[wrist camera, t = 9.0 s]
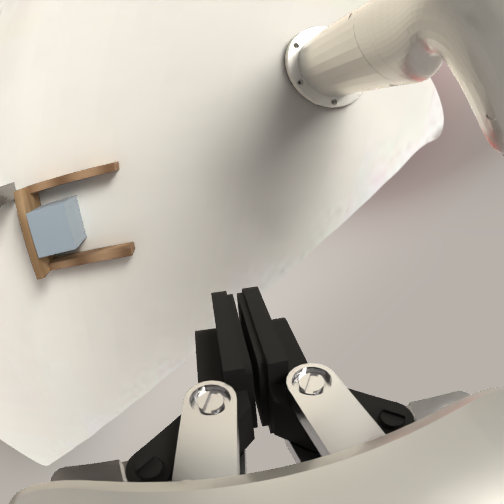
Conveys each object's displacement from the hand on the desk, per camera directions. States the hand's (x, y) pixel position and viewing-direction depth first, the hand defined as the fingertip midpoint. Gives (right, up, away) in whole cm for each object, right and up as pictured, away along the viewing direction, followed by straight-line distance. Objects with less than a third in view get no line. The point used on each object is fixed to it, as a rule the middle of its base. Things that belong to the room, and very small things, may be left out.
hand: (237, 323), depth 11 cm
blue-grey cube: (-25, +7, +25) cm, 36 cm away
